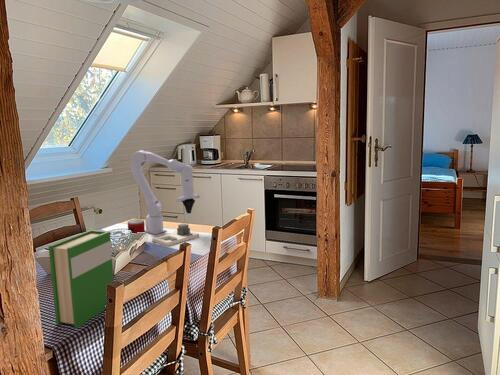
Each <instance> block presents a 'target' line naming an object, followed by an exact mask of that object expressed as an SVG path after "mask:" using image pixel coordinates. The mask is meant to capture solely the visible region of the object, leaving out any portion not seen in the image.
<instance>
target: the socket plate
mask: <svg viewBox="0 0 500 375" xmlns="http://www.w3.org/2000/svg"><path fill="white" fill-rule="evenodd" d="M199 237H200V233H199V232H194V231H191V230H190V234H186V235H185V236H181V235H177V231H173V232H170V233H167V234H163V235H160V236H156V237H153V238H151V239H152V240H151V241H152V242H153V243H157V244H159V245H163V246H167V247H169V246H172V245H176V244H179V243H183V242H186V241H189V239H190V240H193V239H196V238H199ZM185 240H186V241H185Z"/></svg>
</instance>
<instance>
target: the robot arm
mask: <svg viewBox="0 0 500 375" xmlns="http://www.w3.org/2000/svg"><path fill="white" fill-rule="evenodd" d="M146 162H155V163H157V164H161V165H163V166H166V167H167V169H168V170H169V171H172V172H174V173H176V174H179V175H180V174H181V178H182V180H181V182H182V183H181V187H182V196H179V197H176V198H175V200H176V202H178V203H180V202H182V204H183V206H184V209H185V212H186V214H192V210H193V206H194V204H195V202H196V199H199V198H201V195H200V194H199V193H194V176H193V173H194V167H193V166H191V165H190V164H187V163H186V162H180V161H178V159H176V158H175V159H174V158H173V159H172V158H171V159H167V158H164V157H162V156H160V155H158V154H156V153H154V152H150V151H146V150H143V149H141V150H138V151H135V152H133V154H132V155H131V158H130V172H131V174H132V177H133V179H134V181H135V182H136V184H137V185H138V188H139V190H140V192H141V194H142V196H143V199H145V206H146V208H147V215H146V216H145V219H144V225H145V233H149V234H153V235H157V234H158V235H159V234H161V233H163V232H164V233H165V232H168V230H167V229H164V220H163V218H164V217H163V212H162V211H163V207H164V206H163V204H162V202H160V201H159V199H158V198H157V197H156V196H155V194H154V192H153V190H152V189H151V186H150V185H149V182H148V180H147V178H146V177H145V174H144V172H143V167H144V164H145V163H146Z"/></svg>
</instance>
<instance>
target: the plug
mask: <svg viewBox="0 0 500 375" xmlns="http://www.w3.org/2000/svg"><path fill="white" fill-rule="evenodd" d="M177 227H178V228H176V229H177V230H176V232H177V235H181V236H185V235H186V234H190V231H191V228H190V227H189V224H187V223H181V224H178V225H177Z"/></svg>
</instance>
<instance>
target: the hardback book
mask: <svg viewBox="0 0 500 375" xmlns="http://www.w3.org/2000/svg"><path fill="white" fill-rule="evenodd" d="M48 254H49V264H50V274H51V283H52V284H51V285H52V296H53V303H54V304H53V305H54V316H55V323H56V326H59V325H62V324H63V323H64V324H71V325H73V328H74V329H78V328H80V327H81V326H83V325H85V323H86V321H87V322H89V321H90V320H91V319H93V318H94V317H96V316H97V315H99V314H100V313H101V312H103V311H104V310H106V309H105V305H106V287H107V285H108V284H110V283H113V282H114V270H113V269H114V268H113V258H112V257H113V256H112V243H111V231H105V230H98V229H97V230H95V229H90V230H87V231H84V232H82V233H80V234H76V235H74V236H71V237H69V238H66V239H64V240H61V241H58V242H56V243H53V244H50V245H48ZM95 315H96V316H95ZM93 316H94V317H93ZM92 317H93V318H92ZM89 319H90V320H89Z"/></svg>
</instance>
